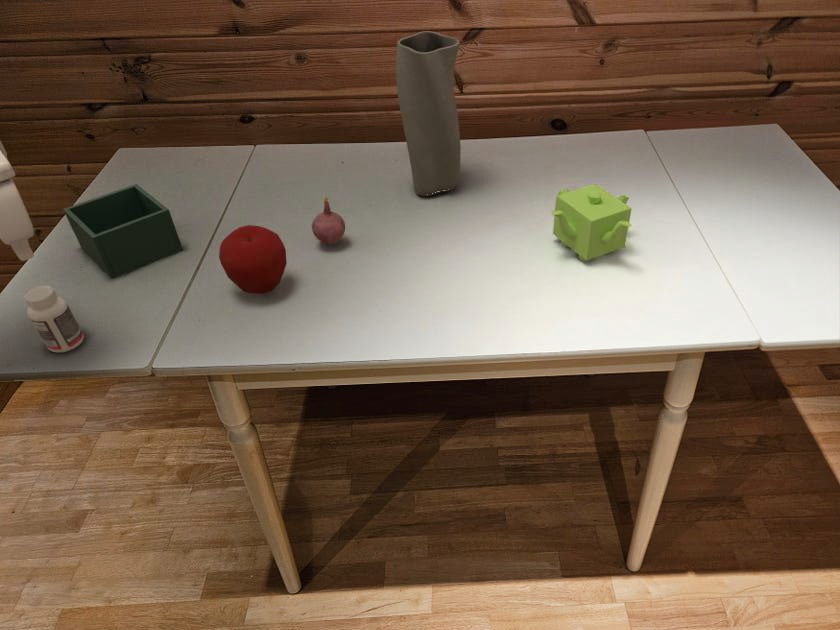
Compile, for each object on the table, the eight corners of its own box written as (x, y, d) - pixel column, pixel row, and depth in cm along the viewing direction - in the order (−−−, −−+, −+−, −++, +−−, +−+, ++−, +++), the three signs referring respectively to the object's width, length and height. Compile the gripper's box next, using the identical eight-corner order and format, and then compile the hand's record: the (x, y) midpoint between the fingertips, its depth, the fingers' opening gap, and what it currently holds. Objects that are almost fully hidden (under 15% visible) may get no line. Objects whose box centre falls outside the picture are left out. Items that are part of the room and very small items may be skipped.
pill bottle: (81, 327, 107) (55, 278, 100) (88, 345, 104) (61, 296, 97) (44, 339, 105) (15, 290, 98) (50, 358, 102) (21, 308, 95)
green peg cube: (622, 273, 119) (632, 219, 111) (545, 264, 121) (549, 210, 114) (627, 230, 130) (636, 178, 122) (556, 222, 132) (560, 171, 124)
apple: (226, 278, 117) (208, 221, 109) (285, 264, 121) (272, 208, 113) (236, 313, 110) (217, 254, 102) (299, 297, 113) (286, 239, 105)
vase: (423, 207, 136) (414, 56, 116) (395, 184, 144) (382, 38, 123) (472, 192, 141) (472, 44, 121) (443, 170, 149) (438, 27, 128)
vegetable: (351, 249, 125) (344, 202, 118) (319, 256, 123) (310, 208, 116) (343, 233, 129) (336, 187, 122) (312, 240, 127) (303, 193, 120)
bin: (111, 279, 117) (92, 237, 111) (82, 249, 124) (62, 208, 118) (183, 249, 124) (168, 209, 118) (151, 223, 131) (136, 183, 125)
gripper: (-88, 133, 86) (-32, 224, 96) (-44, 186, 76) (14, 283, 85) (-35, 119, 90) (14, 208, 99) (15, 168, 79) (64, 263, 88)
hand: (14, 243), depth 92 cm, fingers open, 8 cm apart
